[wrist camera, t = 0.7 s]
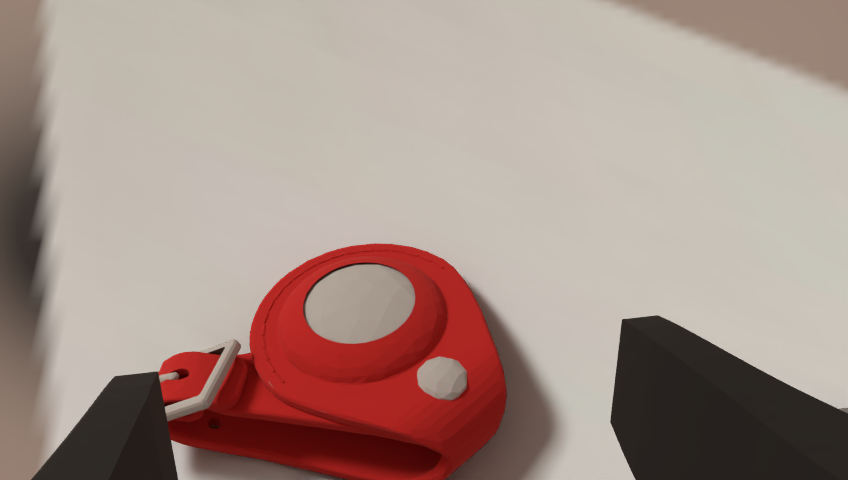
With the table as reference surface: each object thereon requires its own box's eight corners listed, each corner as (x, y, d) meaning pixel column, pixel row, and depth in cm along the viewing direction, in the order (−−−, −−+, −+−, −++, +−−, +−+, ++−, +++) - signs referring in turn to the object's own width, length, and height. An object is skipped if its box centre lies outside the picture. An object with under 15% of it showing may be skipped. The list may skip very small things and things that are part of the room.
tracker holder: (368, 188, 32) (566, 313, 26) (381, 269, 35) (561, 398, 29) (84, 362, 26) (258, 571, 21) (128, 442, 29) (290, 645, 24)
